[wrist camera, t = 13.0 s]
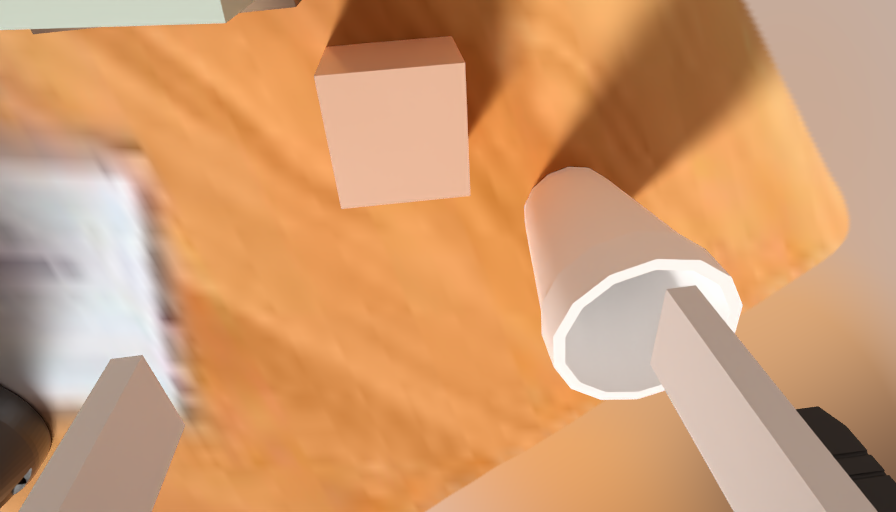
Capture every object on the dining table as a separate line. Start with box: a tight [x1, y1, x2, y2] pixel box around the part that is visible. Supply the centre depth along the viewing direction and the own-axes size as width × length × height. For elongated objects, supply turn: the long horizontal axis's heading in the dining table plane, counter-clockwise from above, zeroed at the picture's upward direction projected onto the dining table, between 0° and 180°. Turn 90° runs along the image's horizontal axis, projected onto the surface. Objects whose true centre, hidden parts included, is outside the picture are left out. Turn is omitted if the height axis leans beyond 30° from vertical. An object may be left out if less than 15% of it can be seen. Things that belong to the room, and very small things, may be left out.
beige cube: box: [314, 36, 470, 209], centre depth 28 cm, size 7×7×6 cm
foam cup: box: [524, 167, 743, 400], centre depth 30 cm, size 10×9×13 cm
